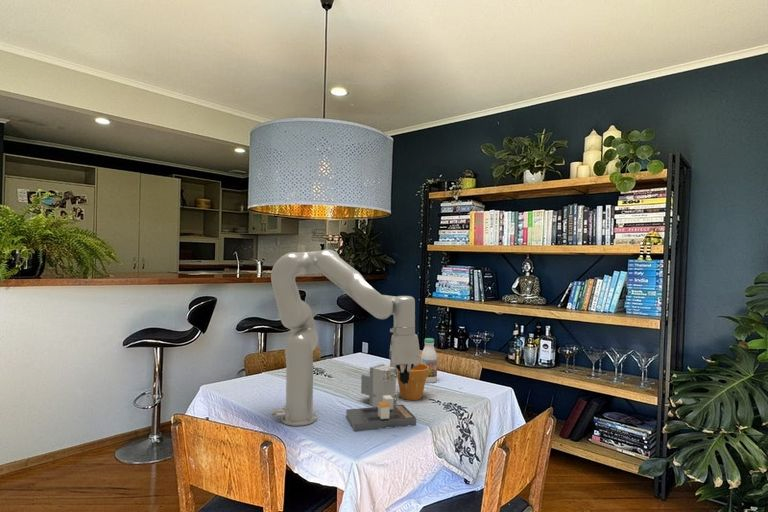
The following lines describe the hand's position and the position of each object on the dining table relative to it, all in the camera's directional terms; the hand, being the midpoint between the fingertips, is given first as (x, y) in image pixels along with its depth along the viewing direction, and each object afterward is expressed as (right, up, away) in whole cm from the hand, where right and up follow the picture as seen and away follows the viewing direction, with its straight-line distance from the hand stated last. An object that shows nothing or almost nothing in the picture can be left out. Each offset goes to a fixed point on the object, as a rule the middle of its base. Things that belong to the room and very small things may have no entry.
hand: (404, 382), depth 158 cm
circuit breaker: (-10, -14, +20) cm, 27 cm away
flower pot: (+4, -15, +29) cm, 33 cm away
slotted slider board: (-9, -14, +2) cm, 17 cm away
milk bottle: (+14, -14, +53) cm, 56 cm away
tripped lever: (-7, -11, -2) cm, 14 cm away
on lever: (-6, -11, +7) cm, 15 cm away
